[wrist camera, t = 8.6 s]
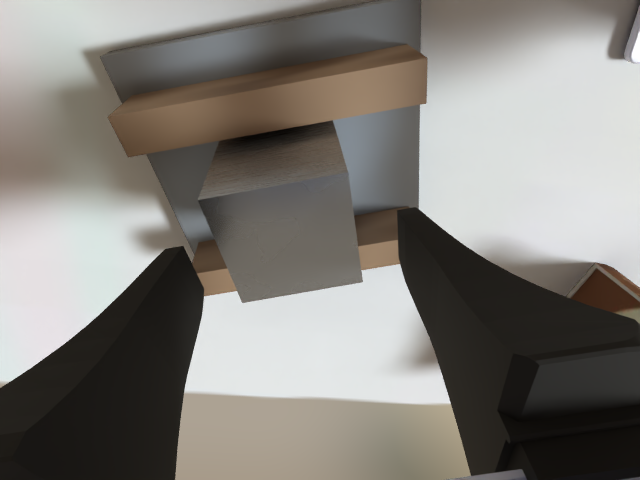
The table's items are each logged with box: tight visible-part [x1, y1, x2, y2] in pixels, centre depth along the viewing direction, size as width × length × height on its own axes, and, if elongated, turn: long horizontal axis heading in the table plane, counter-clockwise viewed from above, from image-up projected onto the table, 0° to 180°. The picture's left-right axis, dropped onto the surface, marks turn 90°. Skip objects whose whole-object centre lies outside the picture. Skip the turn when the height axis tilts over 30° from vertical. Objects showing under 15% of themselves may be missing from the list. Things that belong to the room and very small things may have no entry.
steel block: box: [198, 120, 363, 303], centre depth 15 cm, size 4×4×6 cm
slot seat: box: [100, 0, 427, 296], centre depth 17 cm, size 12×12×4 cm
